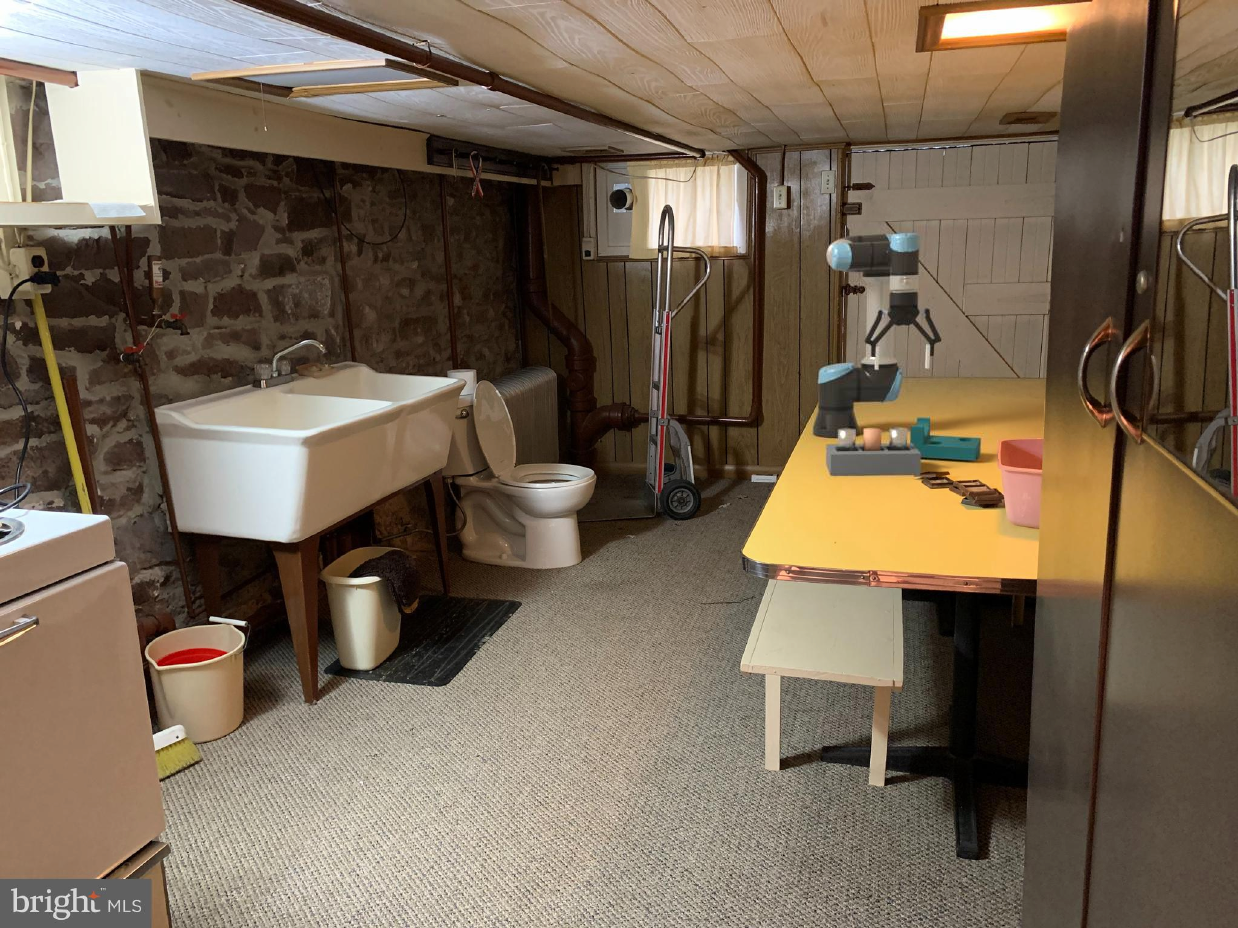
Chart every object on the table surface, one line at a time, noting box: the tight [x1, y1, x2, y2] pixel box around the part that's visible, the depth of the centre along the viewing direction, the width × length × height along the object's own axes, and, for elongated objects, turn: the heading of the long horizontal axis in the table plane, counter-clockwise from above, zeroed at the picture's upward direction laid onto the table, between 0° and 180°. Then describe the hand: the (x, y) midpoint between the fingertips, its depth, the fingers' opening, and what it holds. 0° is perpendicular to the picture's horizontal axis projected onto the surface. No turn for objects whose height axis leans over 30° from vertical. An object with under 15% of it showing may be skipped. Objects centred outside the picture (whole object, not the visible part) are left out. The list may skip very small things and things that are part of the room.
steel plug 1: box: [837, 428, 857, 451], centre depth 265 cm, size 5×5×6 cm
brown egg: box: [862, 427, 882, 451], centre depth 264 cm, size 5×5×6 cm
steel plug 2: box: [888, 426, 908, 451], centre depth 263 cm, size 5×5×6 cm
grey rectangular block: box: [825, 442, 922, 477], centre depth 265 cm, size 14×24×6 cm, turn 83°
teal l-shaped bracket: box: [909, 416, 982, 461], centre depth 275 cm, size 18×11×10 cm, turn 62°
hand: (901, 368), depth 262 cm, fingers open, 13 cm apart
